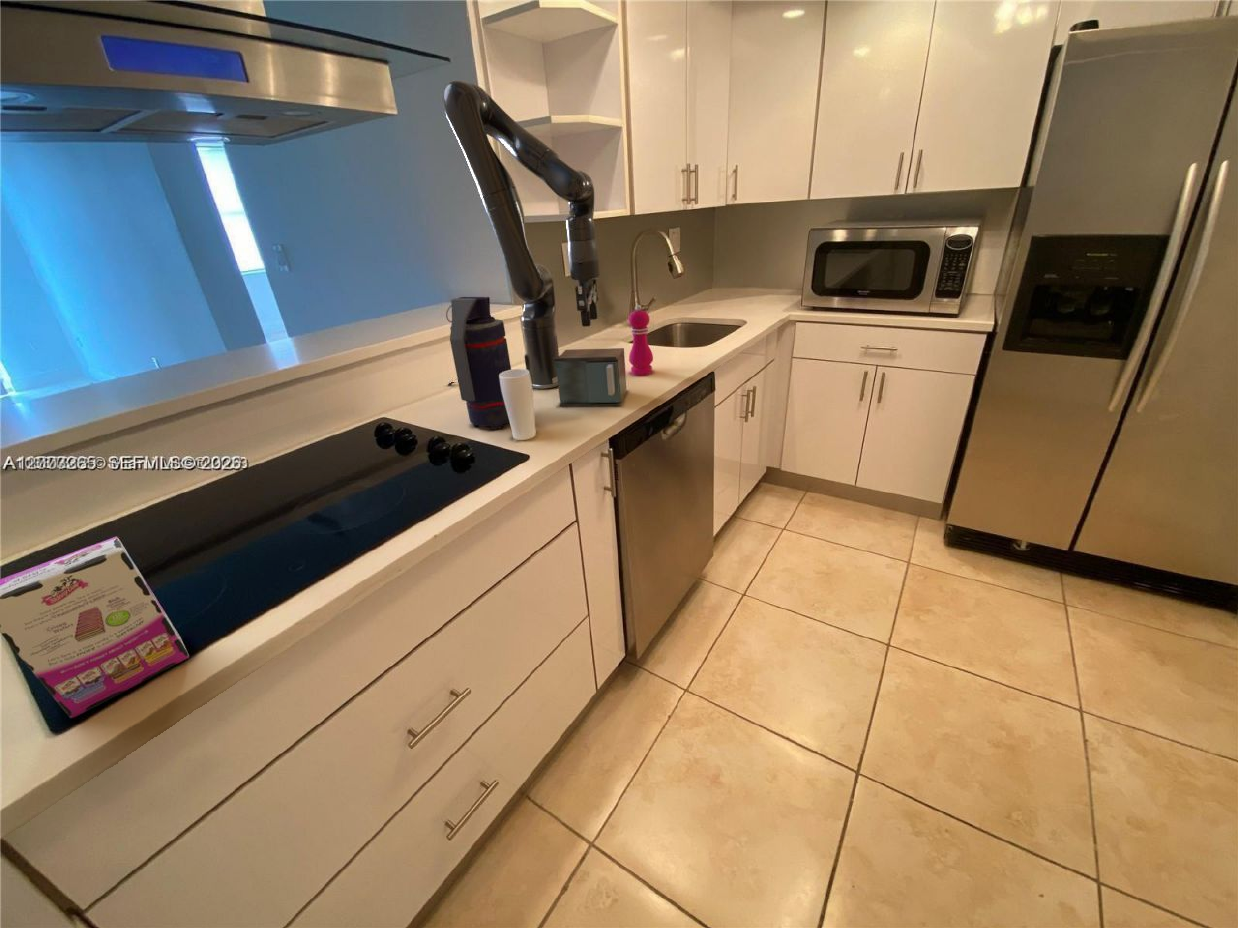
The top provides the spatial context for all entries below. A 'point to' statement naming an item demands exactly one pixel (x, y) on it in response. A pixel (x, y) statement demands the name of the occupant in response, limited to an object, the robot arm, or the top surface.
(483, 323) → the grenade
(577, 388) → the cabinet
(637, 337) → the pepper mill
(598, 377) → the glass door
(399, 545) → the top surface
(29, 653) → the candy bar box
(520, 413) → the drinking glass
